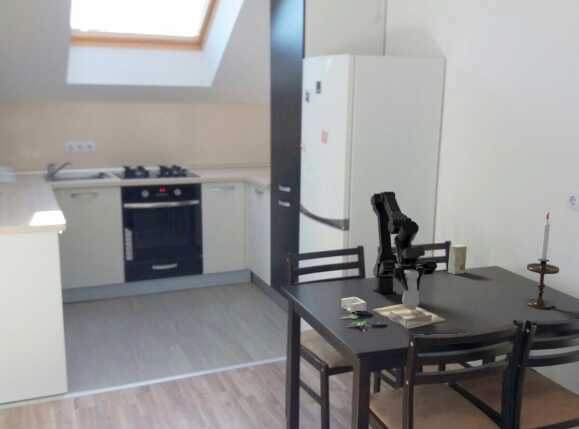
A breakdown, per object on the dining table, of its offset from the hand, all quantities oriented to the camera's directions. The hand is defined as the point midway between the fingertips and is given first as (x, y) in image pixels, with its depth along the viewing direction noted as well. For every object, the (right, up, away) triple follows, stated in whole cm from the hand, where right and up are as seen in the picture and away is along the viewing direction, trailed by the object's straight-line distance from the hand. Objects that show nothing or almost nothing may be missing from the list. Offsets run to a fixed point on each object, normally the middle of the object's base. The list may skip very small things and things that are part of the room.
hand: (412, 290), depth 197 cm
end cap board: (0, -10, +9) cm, 13 cm away
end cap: (-18, -9, +15) cm, 25 cm away
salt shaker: (0, -6, +3) cm, 7 cm away
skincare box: (+32, -1, +63) cm, 70 cm away
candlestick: (+51, -8, +21) cm, 56 cm away
